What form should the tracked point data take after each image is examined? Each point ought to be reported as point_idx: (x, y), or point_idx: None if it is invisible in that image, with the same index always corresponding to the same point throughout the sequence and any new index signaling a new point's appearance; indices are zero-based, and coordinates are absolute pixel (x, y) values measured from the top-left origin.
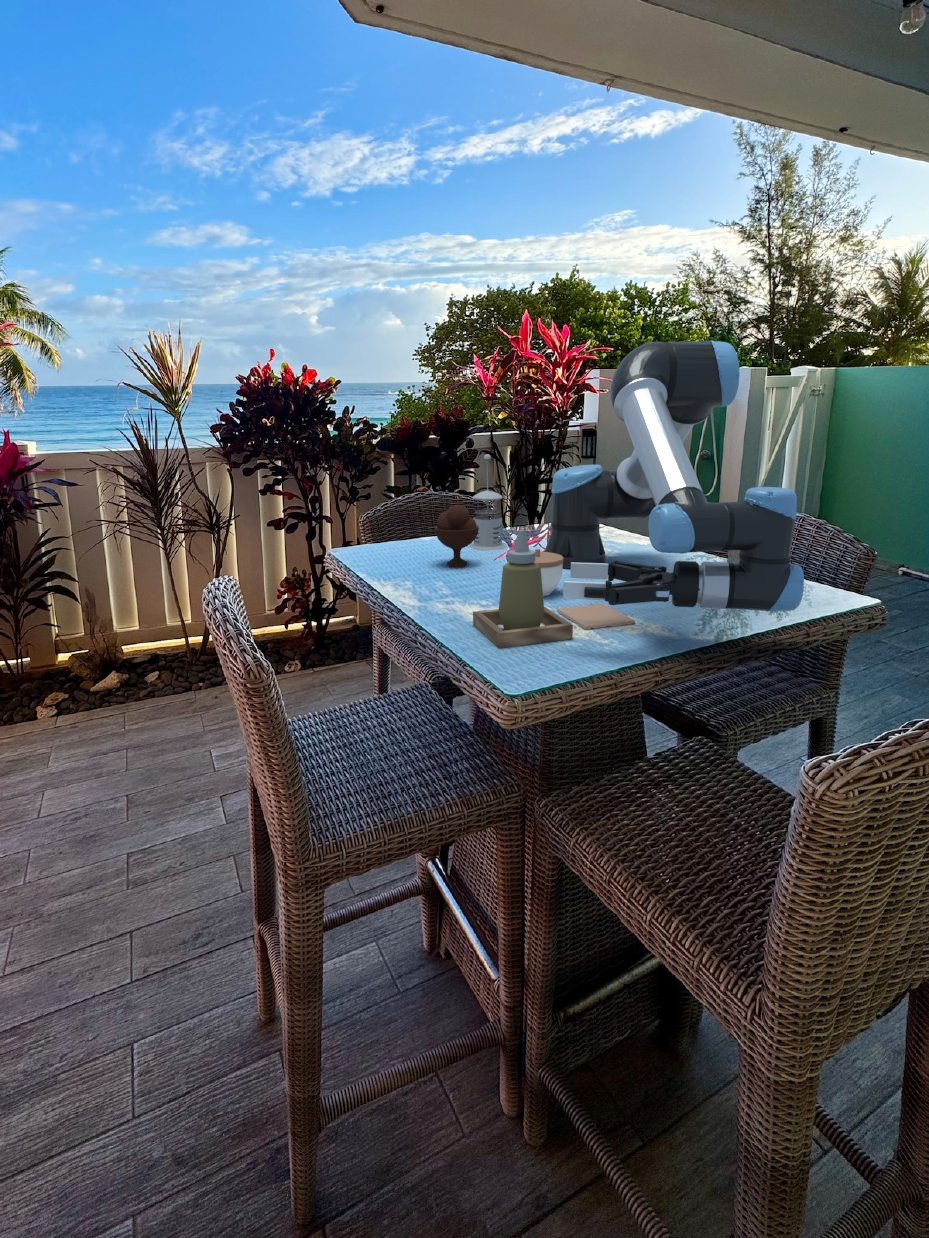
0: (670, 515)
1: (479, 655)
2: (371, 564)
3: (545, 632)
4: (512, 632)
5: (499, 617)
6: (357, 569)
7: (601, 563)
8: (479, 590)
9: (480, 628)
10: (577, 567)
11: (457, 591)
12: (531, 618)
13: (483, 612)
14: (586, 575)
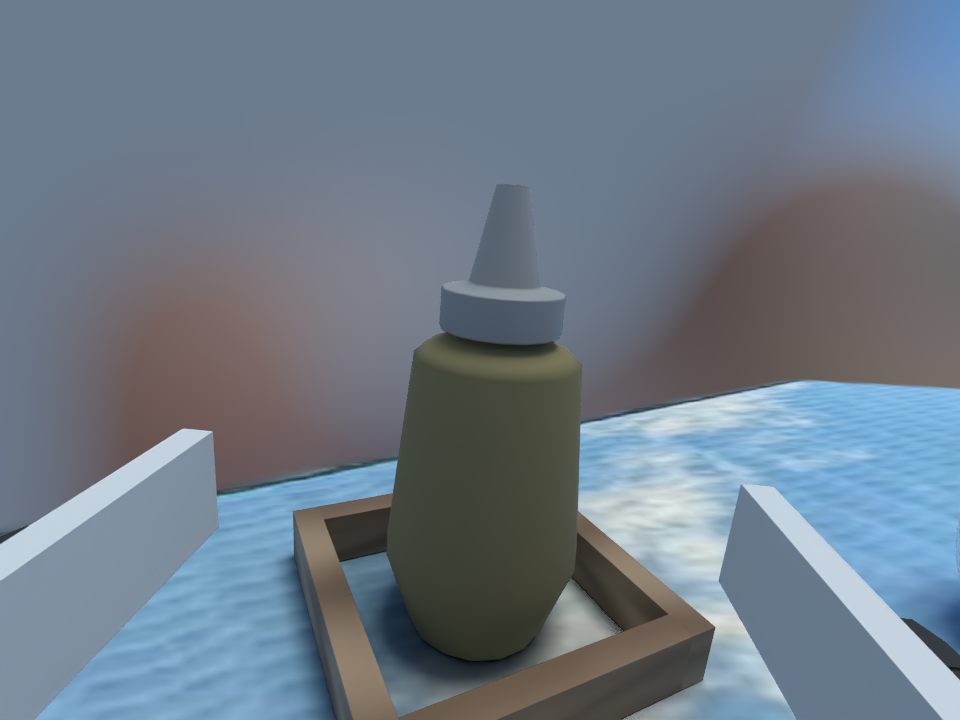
0: None
1: (241, 520)
2: (875, 390)
3: (328, 653)
4: (301, 540)
5: None
6: (821, 382)
7: (951, 677)
8: (884, 513)
9: None
10: (757, 540)
11: (821, 479)
12: (394, 566)
13: None
14: (781, 652)
